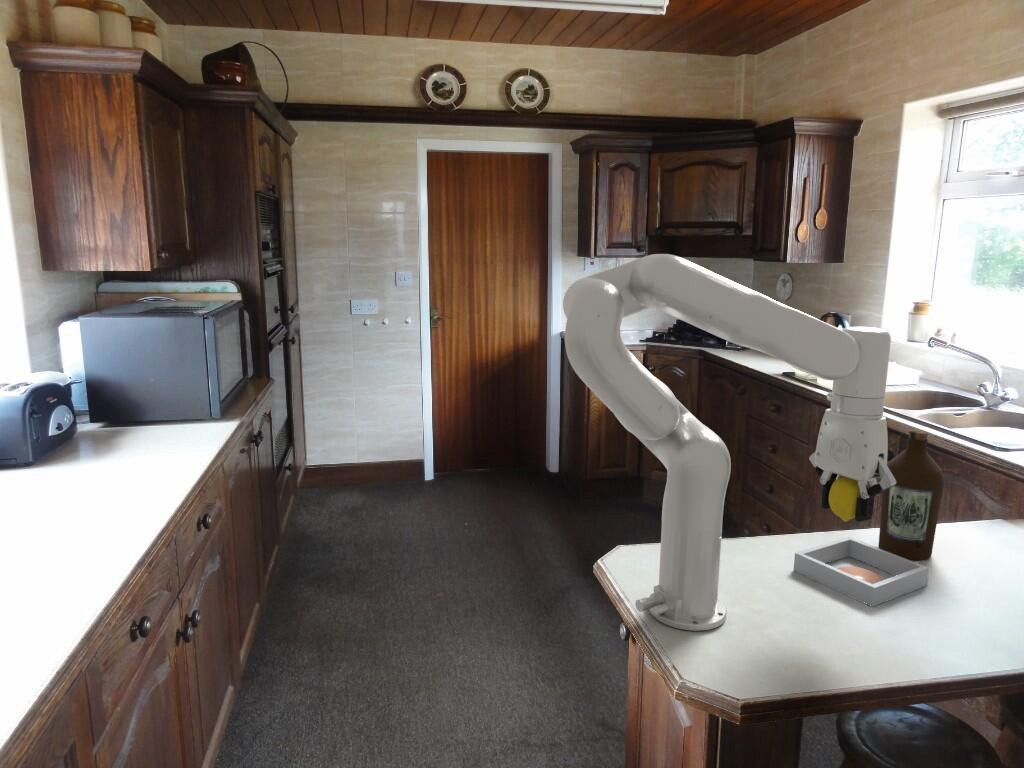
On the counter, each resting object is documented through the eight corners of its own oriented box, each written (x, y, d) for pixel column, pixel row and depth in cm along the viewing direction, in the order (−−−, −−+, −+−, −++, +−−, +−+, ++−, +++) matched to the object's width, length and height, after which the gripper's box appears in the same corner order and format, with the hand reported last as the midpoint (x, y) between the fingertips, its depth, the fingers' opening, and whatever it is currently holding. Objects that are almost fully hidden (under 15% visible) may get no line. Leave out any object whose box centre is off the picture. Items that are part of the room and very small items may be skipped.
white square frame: (872, 607, 119) (874, 587, 119) (793, 570, 133) (795, 552, 132) (926, 585, 127) (929, 567, 127) (847, 553, 141) (848, 536, 140)
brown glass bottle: (878, 536, 149) (890, 422, 145) (936, 548, 144) (951, 429, 139) (871, 554, 140) (885, 433, 136) (933, 567, 135) (949, 441, 130)
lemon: (869, 528, 112) (875, 480, 111) (834, 527, 113) (838, 479, 111) (855, 515, 118) (860, 469, 116) (821, 514, 118) (825, 468, 117)
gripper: (796, 397, 117) (787, 500, 121) (891, 419, 102) (878, 536, 106) (827, 393, 121) (817, 494, 124) (924, 414, 106) (910, 527, 109)
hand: (845, 512), depth 115 cm, fingers closed on lemon, 5 cm apart
